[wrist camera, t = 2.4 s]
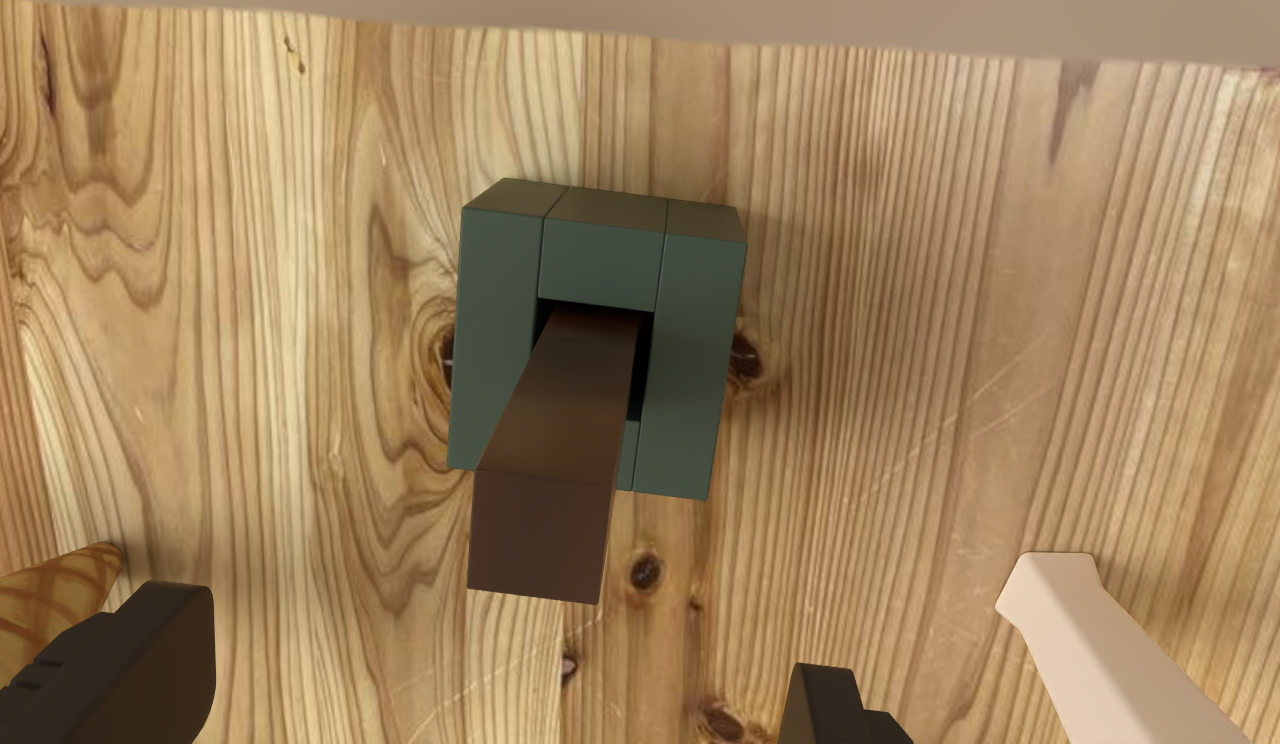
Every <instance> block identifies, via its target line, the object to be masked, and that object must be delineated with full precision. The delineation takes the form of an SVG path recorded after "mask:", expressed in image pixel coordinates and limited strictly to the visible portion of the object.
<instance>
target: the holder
mask: <svg viewBox="0 0 1280 744" xmlns="http://www.w3.org/2000/svg"><path fill="white" fill-rule="evenodd" d="M747 247H748V244H747V241H746V238H745V235H744V232H743V229H742V226H741V223H740V220H739V217H738V214H737V211H736V208H735V207H730V206H722V205H714V204H706V203H698V202H691V201H683V200H675V199H669V200H668V199H667V198H660V197H652V196H644V195H636V194H628V193H620V192H612V191H605V190H597V189H589V188H581V187H573V186H571V187H568V186H564V185H556V184H548V183H540V182H532V181H524V180H517V179H509V178H503V179H501V180H500V181H498V182H497V183H496V184H494V185H493V186H491V187H490V188H489V189H487V190H486V191H485V192H483V193H482V194H480V195H479V196H478V197H476V198H475V199H474V200H472V201H471V202H469V203H468V204H467V205H465V206H464V207H463V208H462V212H461V229H460V246H459V263H458V281H457V298H456V315H455V332H454V349H453V367H452V384H451V401H450V418H449V436H448V453H447V467H449V468H455V469H463V470H470V471H474V470H475V468H476V466H477V464H478V462H479V460H480V458H481V456H482V454H483V452H484V450H485V448H486V446H487V444H488V441H489V439H490V437H491V435H492V433H493V431H494V429H495V427H496V425H497V423H498V421H499V419H500V417H501V415H502V413H503V411H504V409H505V407H506V405H507V403H508V401H509V399H510V397H511V395H512V393H513V391H514V389H515V387H516V385H517V383H518V381H519V379H520V377H521V375H522V372H523V370H524V368H525V366H526V364H527V362H528V360H529V358H530V356H531V354H532V352H533V350H534V348H535V346H536V344H537V342H538V340H539V338H540V336H541V334H542V332H543V330H544V328H545V326H546V324H547V322H548V320H549V318H550V316H551V314H552V312H553V310H554V308H555V306H556V304H557V301H558V300H561V301H569V302H577V303H585V304H592V305H600V306H608V307H616V308H624V309H632V310H640V311H647V312H654V314H653V321H652V329H651V337H650V345H649V352H648V358H647V357H644V356H636V358H635V365H634V371H633V378H632V385H631V391H630V398H629V405H628V411H627V418H626V424H625V431H624V438H623V444H622V451H621V458H620V464H619V471H618V477H617V484H616V490H624V491H631V490H632V491H634V492H640V493H648V494H656V495H664V496H672V497H679V498H687V499H695V500H703V501H706V500H707V499H708V492H709V486H710V480H711V473H712V467H713V461H714V455H715V448H716V442H717V436H718V429H719V423H720V417H721V411H722V404H723V398H724V392H725V386H726V379H727V373H728V367H729V360H730V354H731V348H732V342H733V335H734V329H735V323H736V316H737V310H738V304H739V298H740V291H741V285H742V279H743V272H744V266H745V260H746V254H747Z"/></svg>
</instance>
